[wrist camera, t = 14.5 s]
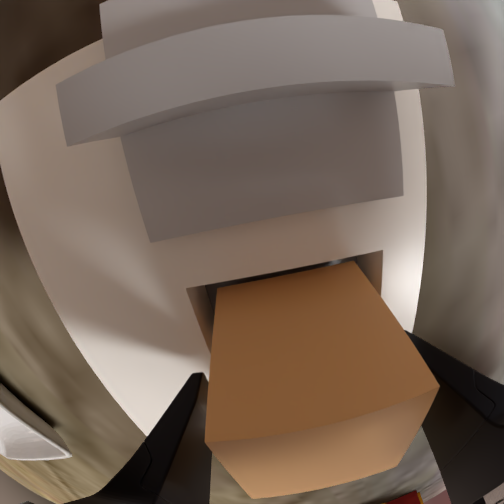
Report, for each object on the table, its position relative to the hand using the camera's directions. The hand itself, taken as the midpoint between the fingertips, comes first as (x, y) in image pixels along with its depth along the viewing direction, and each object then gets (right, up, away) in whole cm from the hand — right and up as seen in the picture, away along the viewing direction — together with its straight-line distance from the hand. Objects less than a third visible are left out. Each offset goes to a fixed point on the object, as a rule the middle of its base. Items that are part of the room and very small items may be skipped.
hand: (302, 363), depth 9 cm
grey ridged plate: (-2, +8, -3) cm, 9 cm away
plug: (0, +1, +3) cm, 4 cm away
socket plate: (-3, +4, +3) cm, 5 cm away
